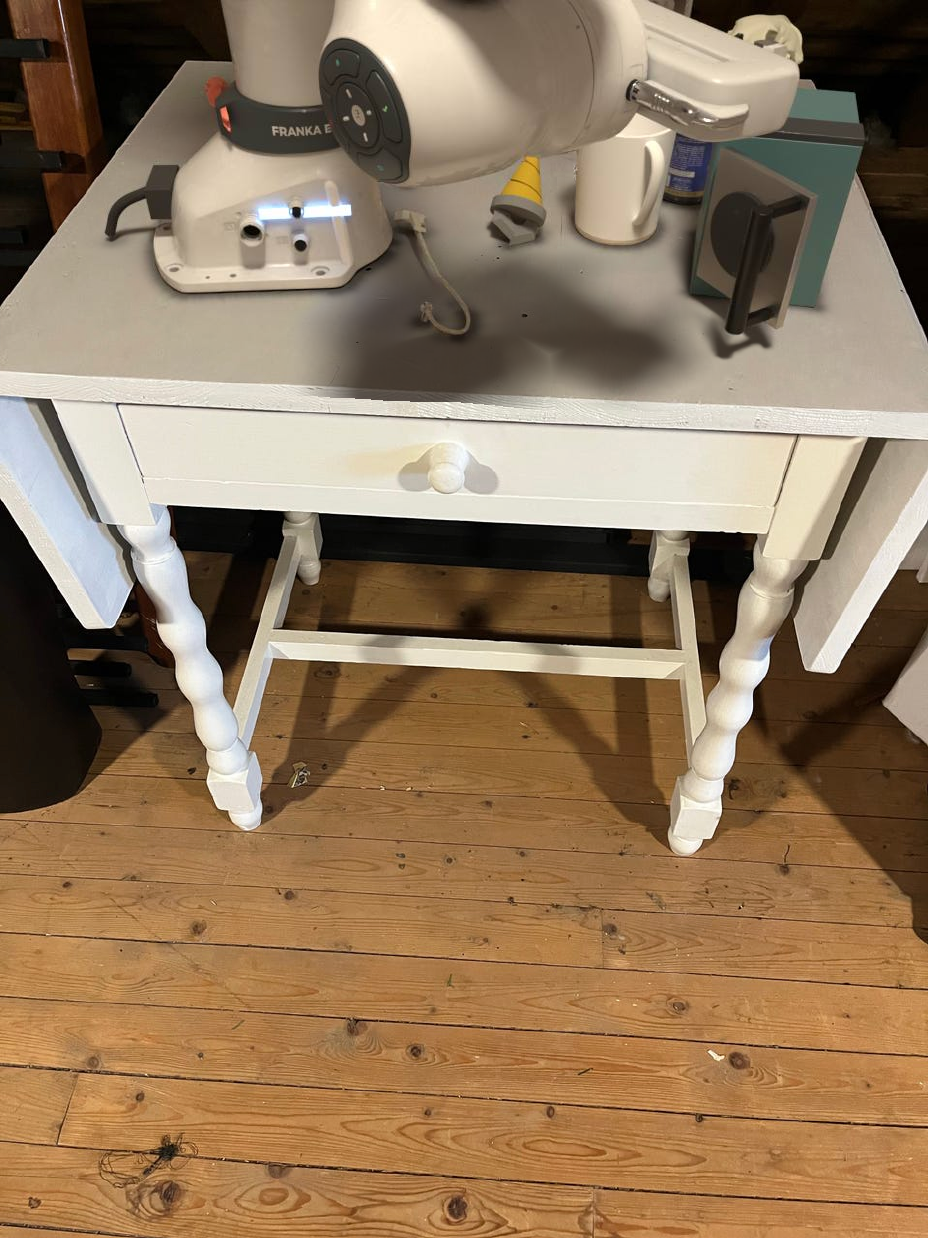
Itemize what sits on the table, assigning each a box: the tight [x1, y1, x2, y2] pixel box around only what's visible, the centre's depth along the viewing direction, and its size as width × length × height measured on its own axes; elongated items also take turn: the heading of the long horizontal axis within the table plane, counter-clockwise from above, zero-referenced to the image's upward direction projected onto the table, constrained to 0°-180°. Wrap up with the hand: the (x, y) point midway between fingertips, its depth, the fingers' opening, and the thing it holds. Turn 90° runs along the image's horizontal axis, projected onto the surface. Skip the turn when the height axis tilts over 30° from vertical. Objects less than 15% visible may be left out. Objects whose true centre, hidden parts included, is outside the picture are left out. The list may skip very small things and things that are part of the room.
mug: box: [574, 113, 676, 247], centre depth 93 cm, size 11×9×10 cm
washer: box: [689, 87, 866, 308], centre depth 87 cm, size 11×11×15 cm
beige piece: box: [393, 209, 471, 335], centre depth 91 cm, size 5×3×20 cm
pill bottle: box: [663, 132, 713, 205], centre depth 98 cm, size 6×6×11 cm
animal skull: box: [726, 14, 804, 66], centre depth 121 cm, size 15×9×8 cm, turn 137°
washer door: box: [696, 146, 818, 336], centre depth 79 cm, size 5×10×11 cm, turn 31°
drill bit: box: [489, 156, 548, 247], centre depth 95 cm, size 5×5×10 cm
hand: (718, 31), depth 65 cm, fingers open, 8 cm apart
